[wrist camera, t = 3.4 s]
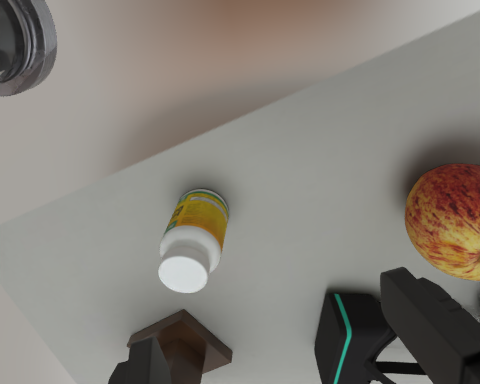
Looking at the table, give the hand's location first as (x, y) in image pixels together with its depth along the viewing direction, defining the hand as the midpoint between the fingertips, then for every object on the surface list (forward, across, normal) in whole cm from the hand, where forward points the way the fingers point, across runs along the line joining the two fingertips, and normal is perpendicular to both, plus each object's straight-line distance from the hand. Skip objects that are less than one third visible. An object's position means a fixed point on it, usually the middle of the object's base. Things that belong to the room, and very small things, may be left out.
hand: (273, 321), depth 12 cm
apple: (+17, -20, +8) cm, 27 cm away
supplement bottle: (+23, +2, +7) cm, 24 cm away
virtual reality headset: (+20, -16, +26) cm, 37 cm away
